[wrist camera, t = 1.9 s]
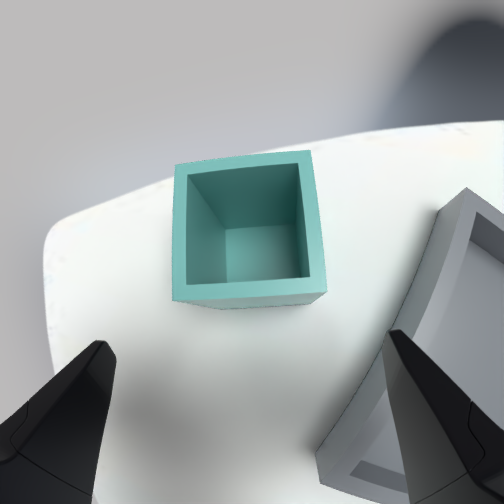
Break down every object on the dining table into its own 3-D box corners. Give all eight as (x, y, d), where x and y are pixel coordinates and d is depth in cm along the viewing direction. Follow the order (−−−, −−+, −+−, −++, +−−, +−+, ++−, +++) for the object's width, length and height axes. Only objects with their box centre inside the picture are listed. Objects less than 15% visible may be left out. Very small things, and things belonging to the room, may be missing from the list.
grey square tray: (484, 503, 13) (506, 522, 9) (314, 453, 18) (320, 483, 13) (572, 314, 16) (601, 310, 12) (439, 210, 20) (466, 187, 16)
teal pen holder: (310, 303, 20) (327, 291, 11) (221, 309, 21) (172, 300, 12) (302, 217, 21) (310, 149, 13) (218, 224, 22) (175, 164, 13)
